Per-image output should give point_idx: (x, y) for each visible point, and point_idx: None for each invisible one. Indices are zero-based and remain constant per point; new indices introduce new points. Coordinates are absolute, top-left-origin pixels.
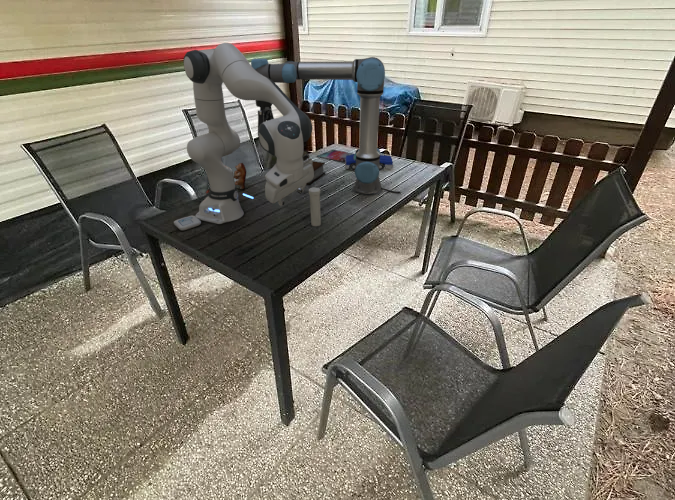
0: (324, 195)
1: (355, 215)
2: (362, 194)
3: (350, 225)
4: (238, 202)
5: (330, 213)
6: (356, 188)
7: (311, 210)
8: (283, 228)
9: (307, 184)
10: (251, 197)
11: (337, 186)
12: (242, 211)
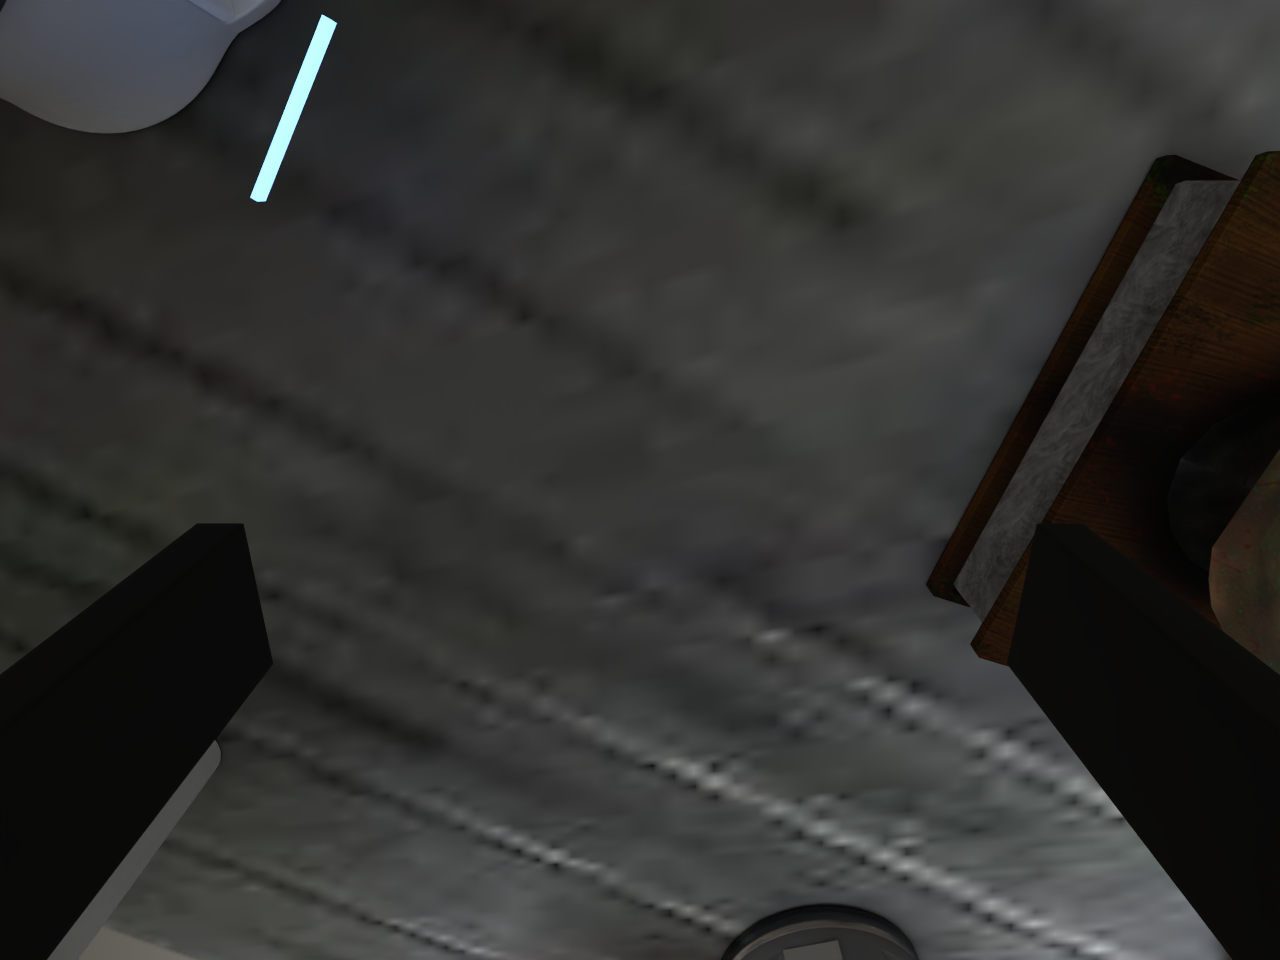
0: (692, 734)
1: (385, 936)
2: (722, 957)
3: (241, 922)
4: (5, 84)
5: (376, 808)
6: (764, 953)
7: None
8: (40, 558)
9: (934, 572)
10: (262, 174)
11: (889, 799)
12: (124, 116)
